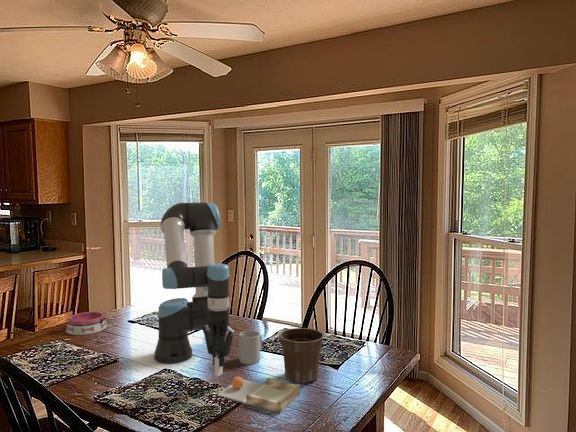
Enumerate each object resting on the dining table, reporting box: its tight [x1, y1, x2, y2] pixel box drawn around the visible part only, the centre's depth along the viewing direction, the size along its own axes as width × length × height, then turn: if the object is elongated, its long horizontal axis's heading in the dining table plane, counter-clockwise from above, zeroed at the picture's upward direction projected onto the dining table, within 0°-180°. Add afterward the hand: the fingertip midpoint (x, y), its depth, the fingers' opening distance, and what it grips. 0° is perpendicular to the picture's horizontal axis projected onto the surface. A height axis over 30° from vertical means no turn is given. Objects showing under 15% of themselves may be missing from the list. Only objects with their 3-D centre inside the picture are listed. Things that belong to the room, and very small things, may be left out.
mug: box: [238, 330, 263, 365], centre depth 182 cm, size 12×8×11 cm
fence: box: [246, 378, 301, 414], centre depth 148 cm, size 12×14×4 cm
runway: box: [216, 378, 301, 414], centre depth 151 cm, size 24×14×1 cm, turn 63°
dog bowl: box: [65, 311, 108, 336], centre depth 218 cm, size 18×19×7 cm
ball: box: [231, 376, 243, 389], centre depth 154 cm, size 4×4×4 cm
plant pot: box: [279, 327, 325, 384], centre depth 165 cm, size 16×16×16 cm
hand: (218, 374), depth 157 cm, fingers closed
